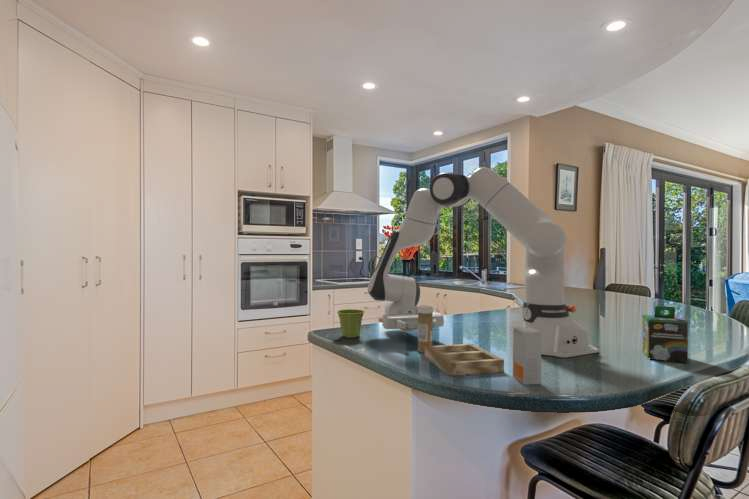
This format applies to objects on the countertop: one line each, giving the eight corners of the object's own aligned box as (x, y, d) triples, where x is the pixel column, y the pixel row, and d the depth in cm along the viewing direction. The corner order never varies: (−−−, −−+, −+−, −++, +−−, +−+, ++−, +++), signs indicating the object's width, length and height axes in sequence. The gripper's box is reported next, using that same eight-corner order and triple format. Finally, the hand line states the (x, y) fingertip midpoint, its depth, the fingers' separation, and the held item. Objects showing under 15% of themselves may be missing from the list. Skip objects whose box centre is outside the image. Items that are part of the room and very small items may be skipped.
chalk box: (679, 355, 114) (679, 304, 113) (688, 364, 105) (689, 309, 105) (641, 352, 117) (641, 302, 117) (647, 360, 109) (648, 306, 109)
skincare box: (512, 376, 94) (512, 326, 94) (529, 375, 95) (529, 326, 95) (523, 385, 88) (524, 332, 88) (541, 384, 89) (542, 331, 89)
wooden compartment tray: (471, 353, 114) (472, 343, 114) (503, 371, 98) (504, 359, 98) (424, 357, 110) (424, 346, 110) (449, 376, 94) (449, 363, 94)
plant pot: (336, 333, 140) (336, 309, 139) (363, 332, 141) (363, 308, 140) (337, 339, 130) (337, 313, 130) (365, 339, 131) (365, 313, 131)
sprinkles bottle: (435, 351, 116) (436, 306, 116) (424, 354, 113) (424, 307, 113) (425, 348, 120) (426, 304, 119) (414, 350, 117) (414, 305, 117)
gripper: (377, 309, 131) (388, 316, 118) (434, 307, 136) (451, 313, 123) (377, 328, 131) (388, 337, 118) (434, 325, 136) (451, 334, 123)
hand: (420, 325), depth 120 cm, fingers open, 8 cm apart
